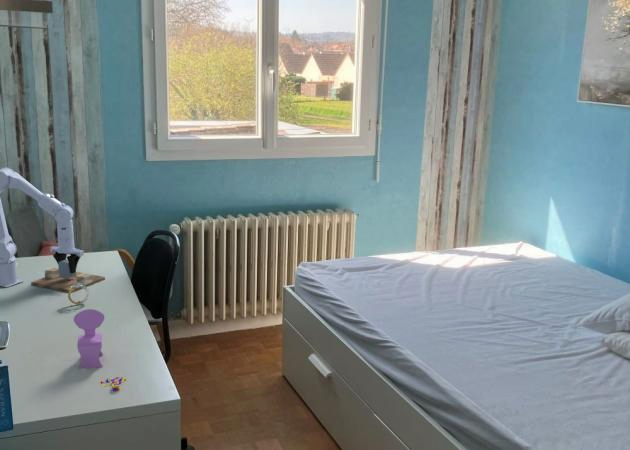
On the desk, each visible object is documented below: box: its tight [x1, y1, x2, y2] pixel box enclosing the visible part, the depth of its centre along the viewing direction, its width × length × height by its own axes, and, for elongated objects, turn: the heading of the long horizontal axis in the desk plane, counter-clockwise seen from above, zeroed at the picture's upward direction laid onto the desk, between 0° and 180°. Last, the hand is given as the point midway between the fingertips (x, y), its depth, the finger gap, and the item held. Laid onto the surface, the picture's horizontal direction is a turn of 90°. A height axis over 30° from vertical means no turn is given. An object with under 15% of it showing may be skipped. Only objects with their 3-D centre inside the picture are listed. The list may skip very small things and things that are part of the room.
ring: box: [67, 282, 90, 306], centre depth 233 cm, size 7×3×8 cm, turn 110°
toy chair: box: [73, 308, 105, 370], centre depth 188 cm, size 8×9×15 cm
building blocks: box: [100, 375, 127, 392], centre depth 177 cm, size 6×8×2 cm
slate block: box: [57, 258, 77, 279], centre depth 256 cm, size 4×4×6 cm
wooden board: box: [30, 266, 106, 294], centre depth 257 cm, size 20×18×4 cm
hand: (68, 271), depth 257 cm, fingers closed on slate block, 4 cm apart
